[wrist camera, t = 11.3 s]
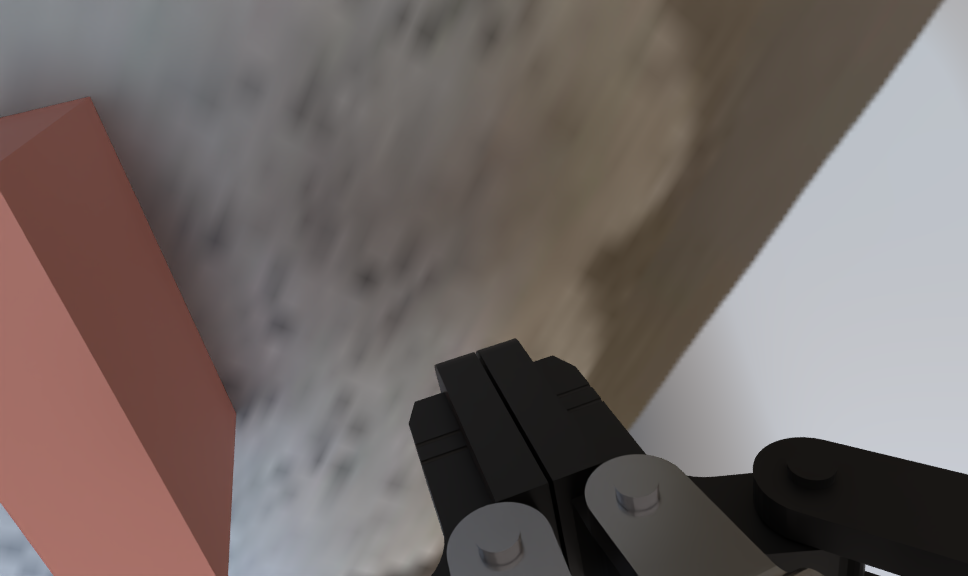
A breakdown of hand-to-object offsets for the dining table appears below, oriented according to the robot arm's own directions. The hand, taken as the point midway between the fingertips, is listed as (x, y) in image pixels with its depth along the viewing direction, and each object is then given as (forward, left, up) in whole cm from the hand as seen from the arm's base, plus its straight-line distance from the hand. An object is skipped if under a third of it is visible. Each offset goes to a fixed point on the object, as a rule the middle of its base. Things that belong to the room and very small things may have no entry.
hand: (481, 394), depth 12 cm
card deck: (-1, -7, -8) cm, 10 cm away
